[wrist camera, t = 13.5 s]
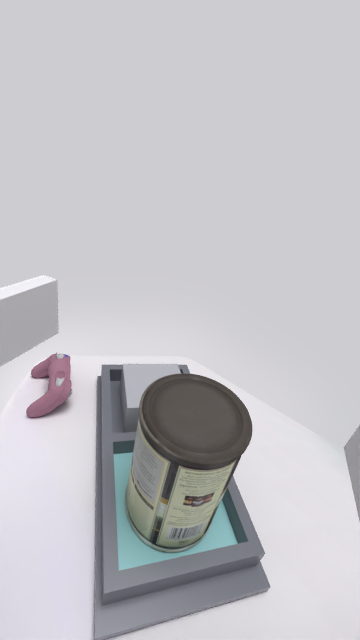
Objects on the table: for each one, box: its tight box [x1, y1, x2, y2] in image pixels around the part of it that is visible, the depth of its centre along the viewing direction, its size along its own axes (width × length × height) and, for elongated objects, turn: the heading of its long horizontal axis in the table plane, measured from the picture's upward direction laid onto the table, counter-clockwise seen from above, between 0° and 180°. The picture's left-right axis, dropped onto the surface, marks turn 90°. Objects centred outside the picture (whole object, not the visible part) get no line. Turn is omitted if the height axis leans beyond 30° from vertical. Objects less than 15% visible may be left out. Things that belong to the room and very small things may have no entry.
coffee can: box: [125, 373, 252, 553], centre depth 28 cm, size 10×10×14 cm
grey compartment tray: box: [94, 364, 270, 640], centre depth 35 cm, size 16×30×6 cm, turn 15°
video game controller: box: [26, 353, 72, 417], centre depth 42 cm, size 10×5×7 cm, turn 22°
